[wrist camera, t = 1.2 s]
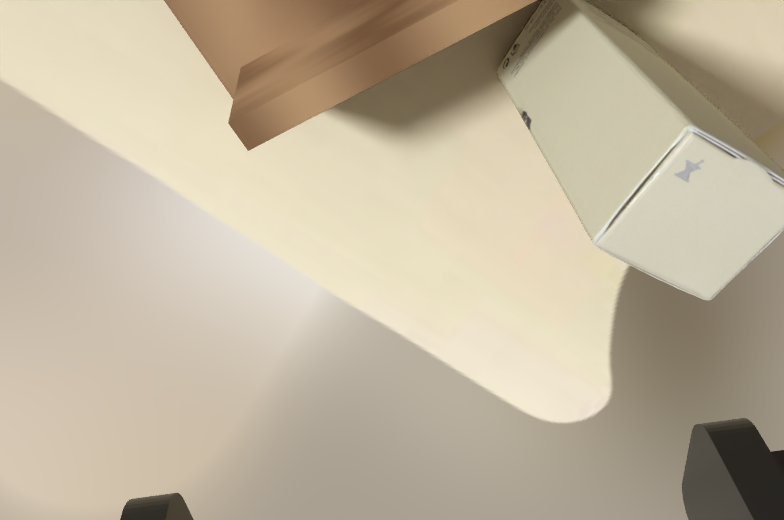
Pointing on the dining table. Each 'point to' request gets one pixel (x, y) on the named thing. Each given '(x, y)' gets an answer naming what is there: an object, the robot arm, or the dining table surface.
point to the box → (642, 150)
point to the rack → (319, 49)
